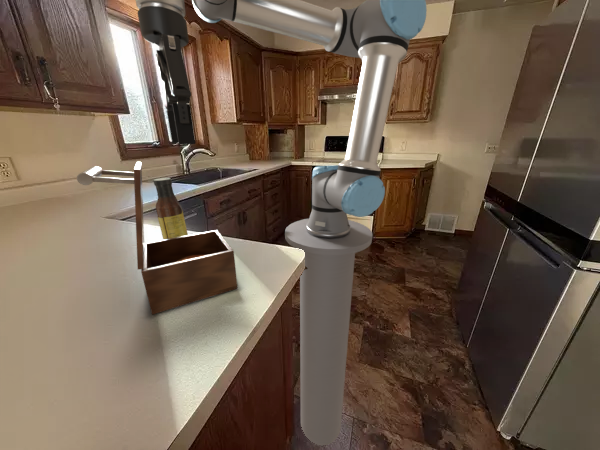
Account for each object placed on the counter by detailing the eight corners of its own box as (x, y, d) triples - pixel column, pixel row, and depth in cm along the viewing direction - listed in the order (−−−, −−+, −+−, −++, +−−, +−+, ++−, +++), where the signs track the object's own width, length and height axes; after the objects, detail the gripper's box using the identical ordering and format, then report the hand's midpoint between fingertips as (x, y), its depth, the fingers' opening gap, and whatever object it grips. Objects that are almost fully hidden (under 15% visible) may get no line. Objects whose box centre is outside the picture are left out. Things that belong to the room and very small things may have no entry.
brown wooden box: (221, 261, 62) (217, 229, 59) (237, 288, 51) (233, 250, 48) (150, 279, 55) (142, 243, 52) (152, 314, 44) (141, 271, 41)
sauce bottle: (194, 245, 72) (183, 177, 65) (181, 254, 66) (167, 181, 59) (174, 243, 73) (161, 176, 66) (159, 252, 67) (143, 180, 60)
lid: (141, 162, 47) (90, 157, 43) (140, 169, 36) (71, 163, 32) (144, 241, 52) (97, 243, 48) (143, 269, 41) (83, 275, 37)
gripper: (138, 34, 51) (158, 142, 58) (133, -35, 30) (165, 145, 38) (178, 41, 54) (192, 142, 61) (197, -17, 34) (215, 144, 41)
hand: (182, 143), depth 49 cm, fingers open, 13 cm apart
